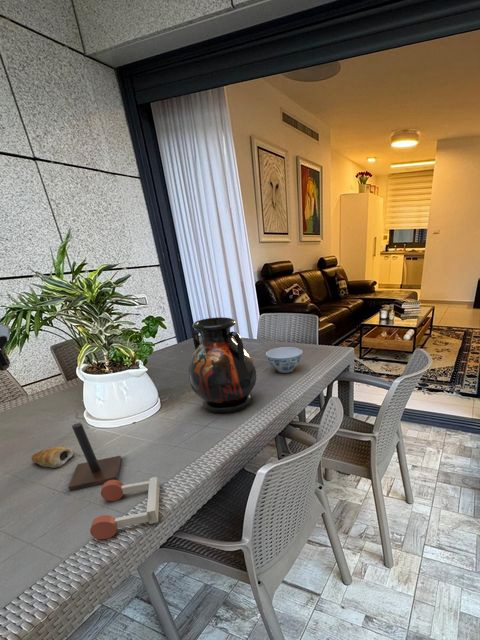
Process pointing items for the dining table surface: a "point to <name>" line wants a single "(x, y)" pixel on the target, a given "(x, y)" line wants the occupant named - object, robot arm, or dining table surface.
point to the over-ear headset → (108, 525)
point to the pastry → (52, 457)
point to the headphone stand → (92, 465)
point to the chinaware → (284, 358)
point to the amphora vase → (221, 366)
